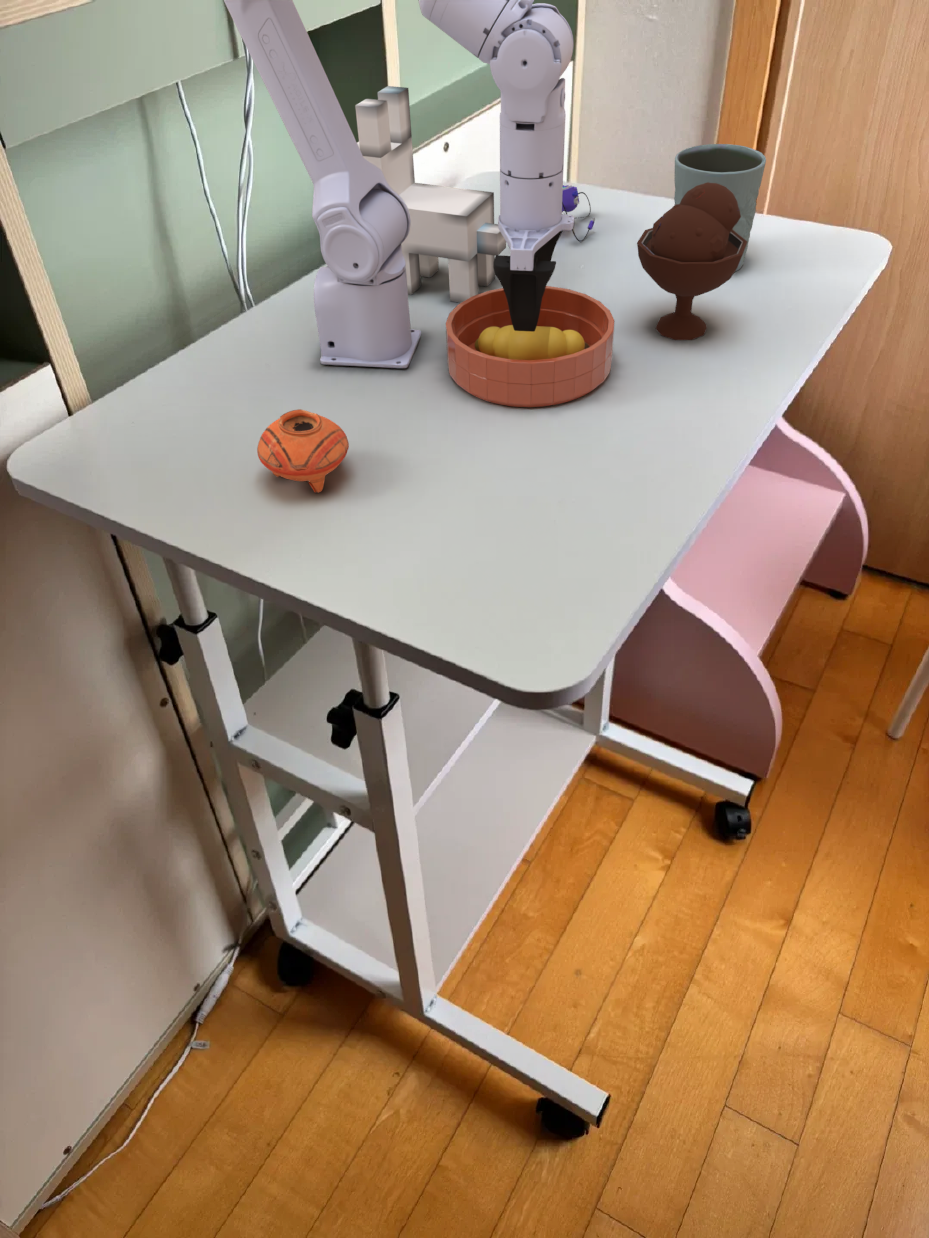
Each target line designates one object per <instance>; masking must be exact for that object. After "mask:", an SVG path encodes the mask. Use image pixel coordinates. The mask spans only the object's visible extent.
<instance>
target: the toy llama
mask: <svg viewBox="0 0 929 1238" xmlns="http://www.w3.org/2000/svg"><path fill="white" fill-rule="evenodd" d="M410 106H411V105H410V92H409V87H405V86H395V85H394V86H393V85H392V86H391V85H387V86H385V87H383V88H382V89H381V90H379V91H377V99H373V98H365V99H363V100H362V101H360V102H359V103H356V104H355V105H354V109H355V116H356V127H357V135H358V136H357V137H358V141H356V142H357V144H358V147H359V149H360V151H361V153H362V155H363V157H364V158H365V159H366V160H367V161H369V162H370V163H372V164H373V165H375V166H376V167H378V168H379V169H380V170H381V171H382V173H383V175H384V177H385V179H386V181H387V183H388V184H389V186H390V187H391V188H392V189H393V190H394V191H395V192H396V193H397V194H398V195H399V196H400V197H401V198H402V199H403V200H404V202H405V204H406V205H407V208H408V210H409V213H410V219H411V226H410V231H409V234H408V236H407V238H406V239H405V240H404V241H403V242H402V243H401V246H402V254H403V256H404V259H405V264H406V276H407V289H408V295H411V296H412V295H414V293H416V292H417V290H418V289H420V288H421V287H422V280H421V277H423V278H431V277H432V276H433V275H435V274H436V273H437V272H438V271H439V270H440V265H439V259H447V262H448V265H447V266H448V283H449V284H448V285H449V302H453V303H458V304H460V303H462V302H463V301H465V300H467V299H469V298H470V297H472V296H475V295H478V294H479V286H480V287H488V286H489V285H491V283H492V282H493V281H494V280H495V279H496V275H495V272H494V268H493V262H494V259H495V256H496V255H500V254H501V253H502V252H503V251H505V249H507V243H506V241H505V239H504V237H503V235H502V234H501V232H500V230H499V228H498V223H495V192H493V191H485V190H479V189H469V188H461V187H454V186H445V185H436V184H428V183H422V182H416V178H415V164H414V150H413V137H412V135H413V134H412V120H411V107H410Z"/></svg>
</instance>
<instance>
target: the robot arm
mask: <svg viewBox="0 0 929 1238" xmlns="http://www.w3.org/2000/svg"><path fill="white" fill-rule="evenodd" d="M223 2H224V4H225V7H226V8H227V11H228V12H229V14H230V17H231V18H232V20H233V23H234V25H235V27H236V29H237V31H238V33H239V35H240V37H241V39H242V41H243V44H244V45H245V48H246V49H247V52H248V53H249V55H250V58H251V60H252V62H253V64H254V66H255V68H256V70H257V72H258V74H259V76H260V78H261V81H262V82H263V85H264V87H265V89H266V90H267V92H268V94H269V96H270V99H271V101H272V103H273V105H274V107H275V109H276V111H277V113H278V115H279V117H280V119H281V121H282V123H283V126H284V127H285V129H286V131H287V133H288V136H289V137H290V139H291V142H292V143H293V145H294V147H295V151H296V152H297V154H298V156H299V158H300V160H301V162H302V164H303V167H304V168H305V171H306V172H307V175H308V176H309V178H310V181H311V183H312V185H313V196H312V209H311V210H312V211H311V216H312V220H313V222H314V223H315V226H316V228H317V231H318V234H319V243H320V244H319V245H320V251H321V256H322V258H323V262H324V263H325V265H326V266H321V267H319V268H318V270H317V271H316V274H315V278H314V285H313V307H314V313H315V320H316V327H317V334H318V341H319V348H320V354H321V357H320V359H319V362H320V364H321V365H327V366H329V365H330V366H345V367H346V366H348V367H349V366H350V367H367V368H391V369H407V368H408V367H409V366H410V363H411V361H412V358H413V356H414V353H415V351H416V348H417V346H418V344H419V341H420V339H421V336H422V331H421V329H415V328H411V317H410V315H411V314H410V303H409V302H410V301H409V294H408V289H407V276H406V264H405V259H404V256H403V254H402V246H401V243H402V242H403V241H404V240H405V239H406V238H407V236H408V234H409V231H410V226H411V219H410V213H409V210H408V208H407V205H406V204H405V202H404V200H403V199H402V198H401V197H400V196H399V195H398V194H397V193H396V192H395V191H394V190H393V189H392V188H391V187H390V186H389V184H388V183H387V181H386V179H385V177H384V175H383V173H382V171H381V170H380V169H379V168H378V167H376V166H375V165H373V164H372V163H370V162H369V161H367V160H366V159H365V158H364V157H363V155H362V153H361V151H360V149H359V147H358V144H357V142H358V141H357V139H356V138H355V135H354V133H353V131H352V129H351V127H350V124H349V122H348V120H347V118H346V116H345V114H344V111H343V109H342V107H341V104H340V102H339V100H338V98H337V96H336V94H335V93H336V92H335V91H334V89H333V87H332V85H331V82H330V81H329V78H328V75H327V74H326V71H325V69H324V67H323V64H322V61H321V60H320V57H319V56H318V54H317V51H316V49H315V47H314V45H313V43H312V40H311V38H310V36H309V34H308V32H307V29H306V27H305V25H304V23H303V20H302V18H301V16H300V14H299V12H298V9H297V7H296V5H295V2H294V1H293V0H223ZM534 2H535V0H418V6H419V10H420V12H421V15H422V17H424V18H425V19H427V20H428V21H429V22H430V23H432V24H433V25H434V26H435V27H437V28H438V29H440V31H442V32H443V33H445V35H447V36H448V37H450V38H451V39H452V40H453V41H455V42H456V43H457V44H458V45H460V46H461V47H462V48H464V49H465V50H466V51H467V52H469V53H470V54H472V55H473V56H474V57H475V58H476V59H478V60H479V61H480V62H482V63H483V64H486V65H487V64H488V65H489V68H490V74H491V77H492V79H493V81H494V83H495V85H496V86H497V88H498V90H499V91H500V112H499V215H498V217H497V224H498V228H499V230H500V232H501V234H502V235H503V237H504V239H505V241H506V245H507V246H508V249H509V250H510V252H509V255H500V254H499V255H496V256H495V259H494V262H493V268H494V272H495V277H496V278H497V279H498V281H499V283H500V285H501V288H503V290H504V292H505V295H506V298H507V302H508V307H509V312H510V317H511V321H512V325H513V328H514V330H515V331H532V332H534V331H535V329H536V326H537V323H538V319H539V314H540V308H541V303H542V297H543V295H544V292H545V288H546V286H548V283H549V281H550V279H551V278H552V276H553V274H554V271H555V269H556V265H557V261H556V260H552V258H553V255H554V251H555V248H556V245H557V243H558V241H559V239H560V237H561V235H562V233H563V232H564V231H572V229H573V230H574V225H575V219H574V218H575V216H574V215H572V214H567V215H566V214H563V212H562V193H563V185H564V165H565V142H566V141H565V138H566V109H565V101H566V78H565V77H562V75H563V74H564V73H565V72H566V71H567V69H568V67H569V65H570V62H571V60H572V56H573V52H574V43H575V42H574V35H573V31H572V28H571V26H570V24H569V22H568V20H567V19H566V18H565V17H564V16H563V15H562V14H561V13H560V11H559V9H558V8H557V6H555V5H554V4H550V3H544V2H537V3H534Z"/></svg>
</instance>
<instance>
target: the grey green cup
mask: <svg viewBox="0 0 929 1238" xmlns="http://www.w3.org/2000/svg"><path fill="white" fill-rule="evenodd" d="M766 163H767V158H766V156H765V154H764V153H763V152H761V151H759V150H757V149H754V148H751V147H749V146H745V145H739V144H731V143H708V144H700V145H695V146H691V147H688V148H684V149H682V150H681V151H679V152H678V153H676V155H675V157H674V180H673V181H674V195H673V197H674V198H673V200H674V201H673V202H674V205H676V204H680V202H681V200H682V198H683V196H684V195H685V194H686V193H687V191H689V190H691V189H692V188H694V187H696V186H697V185H701V184H704V183H707V182H709V183H717V184H720V185H722V186H725V187H726V188H728V189H729V190H730V191H731V192H732V193H733V194H734V196H735V198H736V200H737V202H738V207H739V210H740V215H741V218H740V219H739V221H738V222H737V224H736V225H735V226H734V227H733V230H734V231H735V232H736V233H738V234H739V235H740V236H741V237H742V238H744V239H745V240H746V241H747V244H746V247H745V250H744V253H743V255H742V258H741V260H740V262H739V265H738V267H737V269H736V271H735V272H734V273H736V272H737V271H739V270H740V269H742V268H743V266H744V264H745V262H746V261H745V260H746V256H747V252H748V247H749V241H750V238H751V237H750V236H751V232H752V228H753V225H754V220H755V215H756V211H757V210H756V207H757V199H758V197H759V193H760V191H759V190H760V188H761V185H762V181H763V176H764V173H765V172H764V171H765V167H766Z"/></svg>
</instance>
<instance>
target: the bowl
mask: <svg viewBox="0 0 929 1238" xmlns="http://www.w3.org/2000/svg"><path fill="white" fill-rule="evenodd" d="M508 325H512V321H511V317H510V312H509V307H508V302H507V298H506V295H505V292H504V290H503V287H501V288H495V289H490V290H487V291H484V292H481V293H478V295H475V296H472V297H470V298H469V299H467V300H465V301H463V302H462V303H458V304H457V305H456V306H455V307H454V308H453V309H452V310H451V311H450V312H449V313H448V316H447V319H446V321H445V339H446V340H445V341H446V359H447V367H448V373H449V376H450V377H451V378H452V379H453V381H454V382H455V383H456V385H457V386H459V387H460V388H461V389H462V390H464V391H465V392H467V393H468V394H470V395H472V396H474V397H476V398H478V399H480V400H483V401H486V402H489V403H492V404H497V405H502V406H508V407H517V408H539V407H549V406H556V405H560V404H565V403H569V402H571V401H573V400H577V399H580V398H581V397H584V396H586V395H589V393H591V392H592V391H594V390H595V389H597V388H598V387H599V386H600V385H601V384H603V383H604V382H605V380H606V378H607V377H608V376H609V374H610V372H611V371H612V359H613V346H614V335H615V333H614V332H615V318H614V316H613V314H612V312H611V310H610V309H609V308H608V307H607V306H606V305H605V304H603V303H602V302H601V301H600V300H598V299H596V298H594V297H592V296H591V295H588V294H586V293H583V292H579V291H576V290H574V289H570V288H563V287H558V286H551V285H546V288H545V292H544V295H543V297H542V303H541V308H540V314H539V319H538V323H537V326H544V327H555V328H558V329H560V330H561V331H565V330H574V331H577V332H578V333H579V334H580V335H581V336H582V337H583V339H584V342H586V343H587V344H589V346H590V347H589V348H587V349H584V350H582V351H579V352H577V353H574V354H571V355H566V356H562V357H557V358H553V359H541V360H515V359H505V358H500V357H495V356H490V355H487V354H484V353H481V352H478V351H477V350H476V348H475V342H476V340H477V339H478V338H479V336H480V334H481V333H482V332H483V331H484V330H485V329H486V328H488V327H499V328H502V327H504V326H508Z"/></svg>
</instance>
